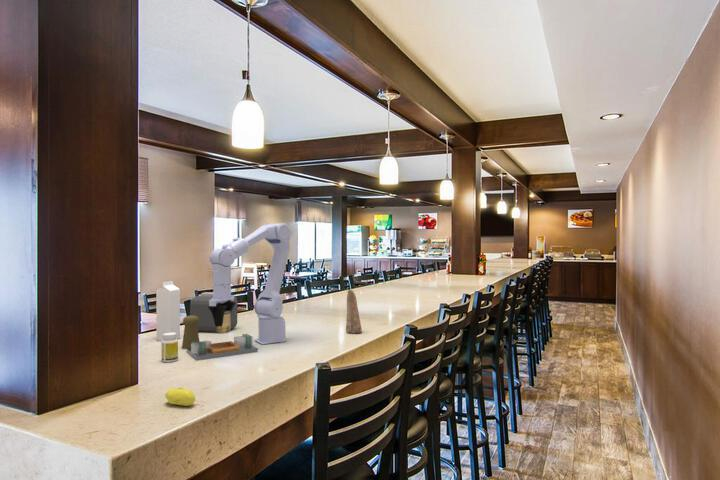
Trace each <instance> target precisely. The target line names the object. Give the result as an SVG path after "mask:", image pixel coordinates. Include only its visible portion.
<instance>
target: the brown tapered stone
mask: <svg viewBox="0 0 720 480" xmlns="http://www.w3.org/2000/svg"><path fill="white" fill-rule="evenodd" d="M345 318H346V320H345V321H346V323H345V332H346V334H352V335H353V334H354V335H355V334H361V333H362V326H361V325H362V323H361V319H360V313H359V307H358V301H357V297H356V294H355V292H354V290H352V289H348V290H347V295H346V317H345Z"/></svg>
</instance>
